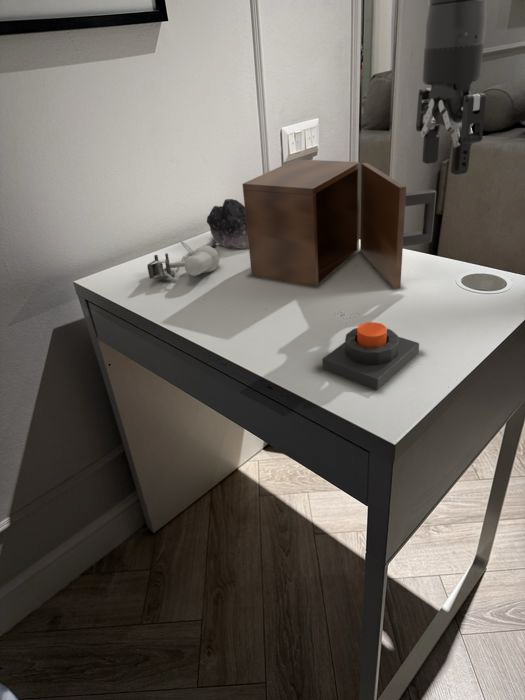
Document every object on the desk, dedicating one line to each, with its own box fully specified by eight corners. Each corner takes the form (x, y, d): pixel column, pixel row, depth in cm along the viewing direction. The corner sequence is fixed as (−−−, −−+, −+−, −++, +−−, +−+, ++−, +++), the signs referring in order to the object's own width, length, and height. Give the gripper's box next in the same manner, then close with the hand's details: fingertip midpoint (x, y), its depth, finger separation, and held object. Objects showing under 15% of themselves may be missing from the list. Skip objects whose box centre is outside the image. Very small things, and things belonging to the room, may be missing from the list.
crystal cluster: (272, 230, 118) (265, 185, 114) (276, 245, 106) (268, 196, 102) (214, 240, 119) (205, 196, 114) (212, 257, 107) (201, 208, 102)
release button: (367, 331, 67) (367, 319, 66) (391, 339, 65) (392, 327, 64) (351, 343, 65) (351, 331, 64) (376, 351, 63) (376, 339, 62)
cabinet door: (394, 248, 100) (398, 158, 91) (434, 285, 85) (444, 181, 76) (360, 253, 99) (361, 163, 91) (394, 291, 84) (399, 187, 75)
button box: (365, 339, 72) (366, 314, 70) (418, 357, 68) (420, 330, 65) (322, 373, 66) (322, 346, 64) (377, 394, 62) (378, 366, 59)
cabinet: (358, 253, 100) (360, 161, 91) (316, 290, 87) (312, 188, 79) (299, 245, 106) (295, 159, 98) (252, 279, 94) (242, 183, 85)
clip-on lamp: (179, 269, 109) (145, 287, 92) (173, 238, 107) (137, 251, 90) (233, 263, 106) (208, 280, 89) (228, 231, 104) (201, 243, 88)
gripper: (512, 38, 64) (494, 173, 72) (451, 40, 76) (442, 156, 84) (456, 45, 63) (444, 182, 71) (403, 46, 75) (399, 162, 83)
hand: (443, 167), depth 78 cm, fingers open, 8 cm apart
